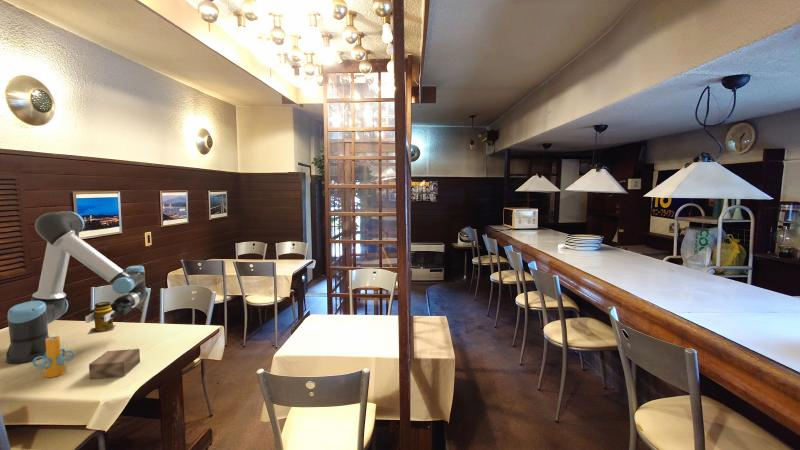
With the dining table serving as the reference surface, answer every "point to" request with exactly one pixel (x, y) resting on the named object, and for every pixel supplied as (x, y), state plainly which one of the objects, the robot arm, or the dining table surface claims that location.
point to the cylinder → (53, 358)
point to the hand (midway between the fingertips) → (95, 319)
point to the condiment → (102, 318)
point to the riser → (114, 363)
